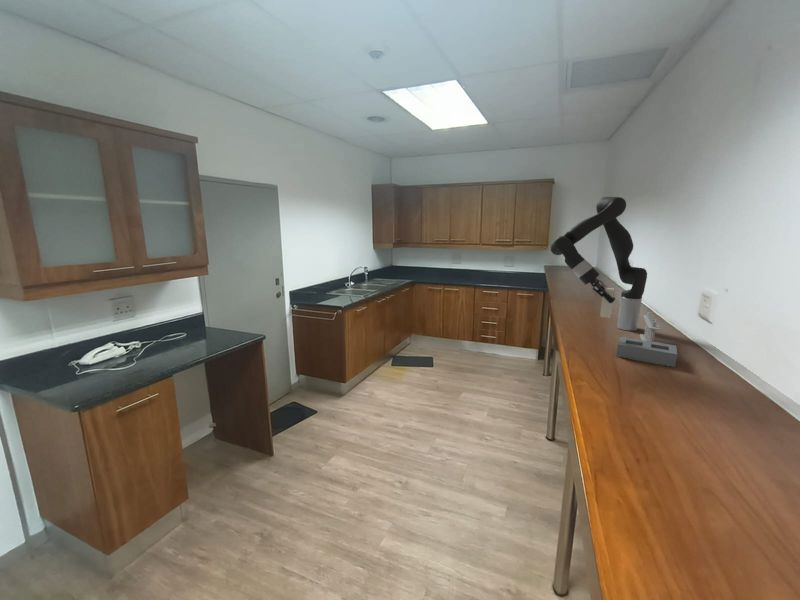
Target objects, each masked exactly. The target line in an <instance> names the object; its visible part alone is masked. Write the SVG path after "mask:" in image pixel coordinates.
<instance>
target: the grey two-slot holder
mask: <svg viewBox="0 0 800 600" xmlns="http://www.w3.org/2000/svg"><path fill="white" fill-rule="evenodd" d="M615 355H616V356H615V357H618V358H622V357H623V358H624V359H627V358H628V359H629V360H634V361H638V362H644V363H648V364H649V363H651V364H654V363H655V364H656V365H660V364H661V366H665V365H666V366H667V367H670V366H671V368H676V365H677V363H676V362H677V358H678V357H677V356H678V350H677V345H675V344H669V343H668V344H667V343H662V342H656V341H654V342H650V341H644V340H641V339H636V338H630V337H624V336H620V337H619V341H618V342H617V348H616V354H615ZM628 359H627V360H628Z"/></svg>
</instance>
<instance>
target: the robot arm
mask: <svg viewBox="0 0 800 600" xmlns="http://www.w3.org/2000/svg"><path fill="white" fill-rule="evenodd" d="M595 208H596V209H595V210H596V214H595V215H592V216H590V217H588V218H585V219H583V220H581V221H579V222H578V223H576V224H575V225H574V226H572V227H571V228H569V229H568V230H567V232H565V234H563V235H561V236H558V237H556V238H555V240H554V241H553V242H552V243H551V245H550V252H551V254H553V255H554V256H560V255H562V256H563V257H564V263H565V264H566V265H567V267H568V268H569V269H570V270H572V272H573V274H575V276H576V277H577V278H578V279H579V280H580V281H581V283H583V284H584V285H588V284H590V285H591V288H592V290H593V291H595V292H596V294H597V295H599V296H600V297H604V298H605V299H606V300H607V301H608V302H609V303H612V302H613V303H614V302H615V300H616V297H614V298H612V297H611V296H610V295H609V294H608V292H607V291H606V290H605V289H606V288H608V286H606V285H605V283H604V281H602V280H601V279H598V277H599V276H600V273H599V272H598V271H597V270H596V269H595V267H594V266H593V265H592V264H591V263H590V262H588V261H587V260H586V259H585V258H584V257H583V256H582V255H581V253H579V251H578V249H577V248H576V245H575V244H577V243H578V242H580V241H581V240H582V239H584V238H585V237H586V236H588V235H590V233H592V232H593V231H595V230H597V229H598V228H600V227H601V226H603V228H604V230H605V232H606V235H607V236H606V237H607V238H608V241H609V245H610V247H611V250H612V253H613V256H614V260H615V262H616V266H617V271H618V276H619V279H620V281H621V282H622V283H623V284H626V285H631V288H629V289H626V290H622V291H621V295H620V301H619V302H620V304H619V310H618V317H617V325H616V328H618V329H619V330H623V331H629V332H631V331H632V332H633V331H637V330H638V326H639V319H640V313H641V307H642V301H643V300H642V299H643V295H644V292H645V288H646V283H647V278H648V272H647V269H646V268H644V267H643V268H642V267H637V266H636V267H635V266H631V264H630V260H629V258H630V257H631V256H630V255H631V254H632V252H633V249H634V242H633V239H632V235H631V233H630V232H629V231H628V230H627V229H626V228H625V226H623V225H622V224H621V222H620V221H619V220H618V219H617V218H618V217H620V216H621V215H622V214H623V213H624V212H625V211H626V208H627V201H626V199H625V198H623V197H619V196H604V197H601V198H599V199H598V201H597V202H596V207H595Z"/></svg>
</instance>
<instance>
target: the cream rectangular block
mask: <svg viewBox="0 0 800 600" xmlns="http://www.w3.org/2000/svg"><path fill="white" fill-rule="evenodd" d="M605 290H606V291H607V292H608V294H609V295H610V296H611V297H612V298H615V288H613V287H607V288H606V289H605ZM613 304H614V302H612V303H609V302H608V301H607V300H606V299H605V298H604V297H602V299H601V308H600V315H599V317H600V318H606V319H607V318H608V319H611V317H612V314H613V313H612V311H613Z"/></svg>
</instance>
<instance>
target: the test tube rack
mask: <svg viewBox="0 0 800 600" xmlns="http://www.w3.org/2000/svg"><path fill="white" fill-rule="evenodd" d="M642 317H643V319H644V321H645V326H644V327H645V328H644V334H643V333H640V334H639V337H640V340H644V341H650V342H655V336H656V331H657V330H658V331H660V330H661V327H660V325H659V323H658V322H657V320H656V318H655V316H654V315H653V314H652V312H651V311H647V314H642Z"/></svg>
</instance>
